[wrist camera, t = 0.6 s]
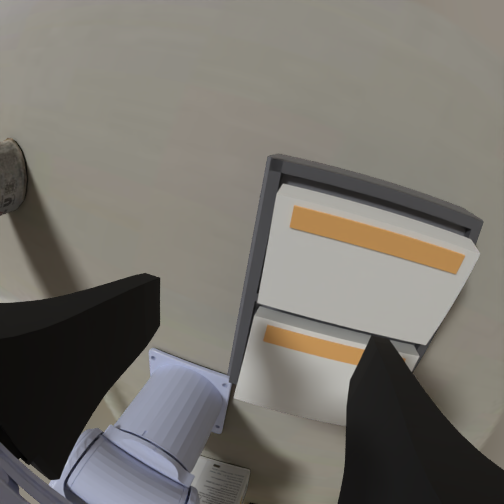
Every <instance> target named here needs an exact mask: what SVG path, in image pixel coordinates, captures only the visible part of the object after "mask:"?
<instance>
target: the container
mask: <svg viewBox="0 0 504 504" xmlns="http://www.w3.org/2000/svg"><path fill="white" fill-rule="evenodd" d="M191 474H193V475H194V476H195V478H194V480H193V482H192V484H191V486H193V487H195V488H196V489H197V491H198V495H199V498H200V503H199V504H242V503H243V500H244V497H245V494H246V491H247V487H248V482H249V477H250V470H249V469H246V468H242V467H238V466H235V465H231V464H227V463H224V462H220V461H217V460H213V459H210V458H207V457H204V456H201V455H200V457H199V459H198V461H197V463H196V465H195V467H194V469H193V470H192V472H191Z"/></svg>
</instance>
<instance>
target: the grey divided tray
mask: <svg viewBox="0 0 504 504" xmlns="http://www.w3.org/2000/svg"><path fill="white" fill-rule="evenodd" d="M282 184H287V185H291V186H296V187H300V188H304V189H308V190H312V191H316V192H320V193H324V194H328V195H332V196H335V197H339V198H343V199H347V200H350V201H354V202H357V203H361V204H365V205H368V206H371V207H375V208H378V209H382V210H385V211H388V212H392V213H395V214H398V215H401V216H405V217H408V218H411V219H414V220H417V221H420V222H423V223H426V224H429V225H432V226H435V227H438V228H441V229H444V230H447V231H450V232H453V233H456V234H458V235H461V236H464V237H467V238H469V239H471V240H472V241H473V243H474V245H476V242H477V240H478V237H479V234H480V231H481V228H482V225H483V220H481V219H480V218H478V217H477V216H475V215H474V214H472V213H470V212H469V211H467V210H466V209H464V208H462V207H460V206H457V205H454V204H452V203H449V202H446V201H444V200H441V199H438V198H435V197H432V196H430V195H427V194H424V193H421V192H418V191H415V190H412V189H409V188H406V187H403V186H400V185H397V184H394V183H390V182H387V181H384V180H380V179H377V178H374V177H370V176H367V175H363V174H360V173H356V172H353V171H349V170H345V169H341V168H338V167H334V166H330V165H326V164H322V163H318V162H314V161H309V160H305V159H301V158H296V157H292V156H287V155H282V154H274V155H270V156H268V157H267V162H266V168H265V173H264V178H263V184H262V189H261V195H260V200H259V205H258V211H257V216H256V222H255V227H254V232H253V238H252V243H251V249H250V254H249V260H248V265H247V270H246V276H245V281H244V287H243V292H242V298H241V303H240V308H239V314H238V319H237V325H236V330H235V336H234V341H233V347H232V352H231V358H230V363H229V369H228V374H227V376H230V378H229V383H232V384H235V385H237V383H238V379H239V375H240V371H241V367H242V363H243V359H244V355H245V351H246V347H247V343H248V339H249V335H250V331H251V327H252V323H253V319H254V315H255V313H256V312H257V310H258V308H259V306H261V307H265V308H268V309H272V310H275V311H279V312H282V313H286V314H290V315H293V316H297V317H301V318H304V319H308V320H312V321H316V322H320V323H323V324H327V325H331V326H335V327H339V328H343V329H347V330H351V331H355V332H359V333H363V334H367V335H373V336H378V337H382V338H387V339H389V340H393V341H398V342H402V343H407V344H411V345H414V347H415V349H416V351H417V353H418V354H419V358H418V360H417V362H416V364H415V366H414V368H413V370H412V373H413V371H414V369H415V368H416V366H417V365H418V363H419V361H420V360H421V358H422V356H423V355H424V353H425V351H426V350H427V348H428V346H429V344H430V343H431V341H432V339H433V337H434V335H435V334H436V332H437V330H438V328H439V327H438V328H437V330H436V331H435V333H434V334H433V336H432V337H431V339H430V340H429V341H428V343H427V344H426V345H422V344H417V343H413V342H408V341H404V340H399V339H395V338H390V337H386V336H382V335H378V334H373V333H369V332H365V331H361V330H357V329H353V328H349V327H345V326H341V325H337V324H333V323H329V322H325V321H321V320H317V319H314V318H310V317H306V316H302V315H299V314H295V313H291V312H288V311H284V310H280V309H277V308H273V307H270V306H266V305H263V304H259V303H257V301H258V295H259V290H260V284H261V279H262V273H263V268H264V262H265V257H266V251H267V245H268V240H269V234H270V228H271V223H272V217H273V211H274V205H275V200H276V194H277V192H278V191H279V189H280V188H281V186H282ZM439 326H440V325H439Z"/></svg>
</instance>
